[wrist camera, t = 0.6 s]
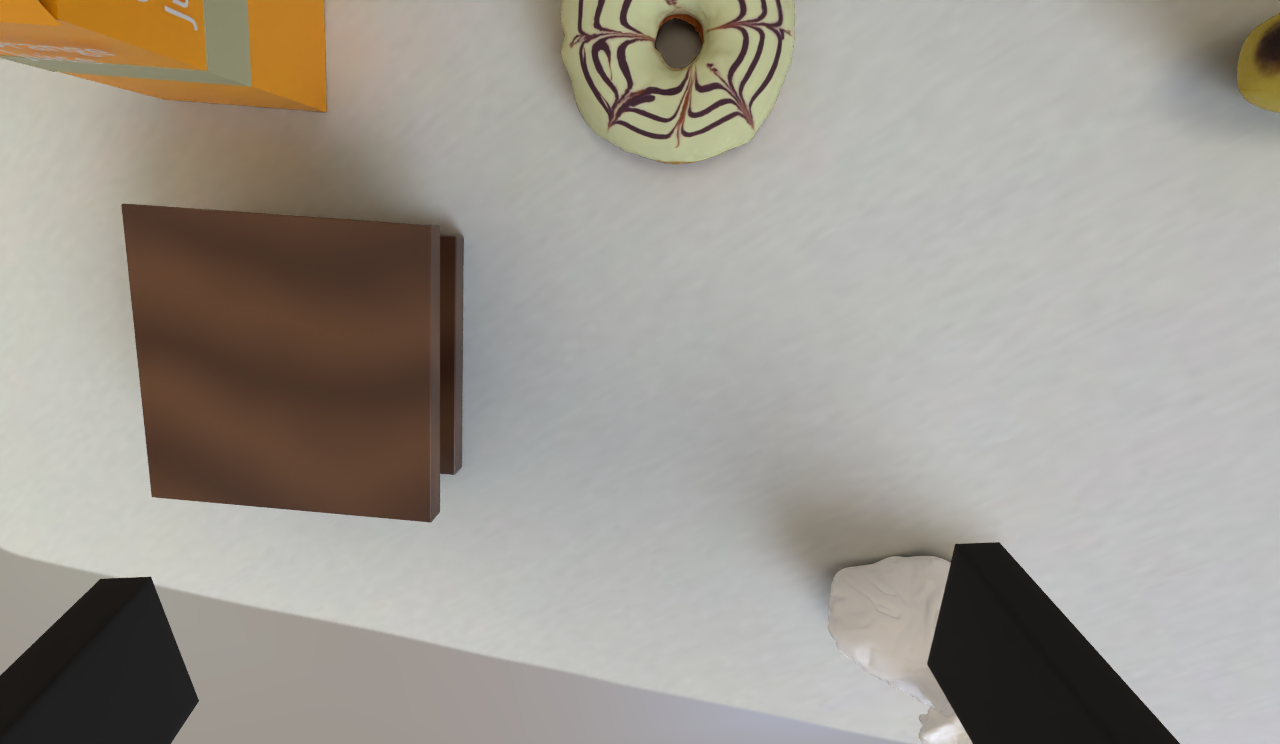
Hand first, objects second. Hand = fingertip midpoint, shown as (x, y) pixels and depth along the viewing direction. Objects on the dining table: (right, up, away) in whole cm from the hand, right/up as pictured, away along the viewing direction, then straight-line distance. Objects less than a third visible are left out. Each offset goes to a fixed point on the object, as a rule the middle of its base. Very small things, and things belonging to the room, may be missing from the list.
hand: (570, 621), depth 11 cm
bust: (+17, -9, +26) cm, 32 cm away
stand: (-15, +6, +25) cm, 29 cm away
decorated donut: (+3, +20, +21) cm, 29 cm away
